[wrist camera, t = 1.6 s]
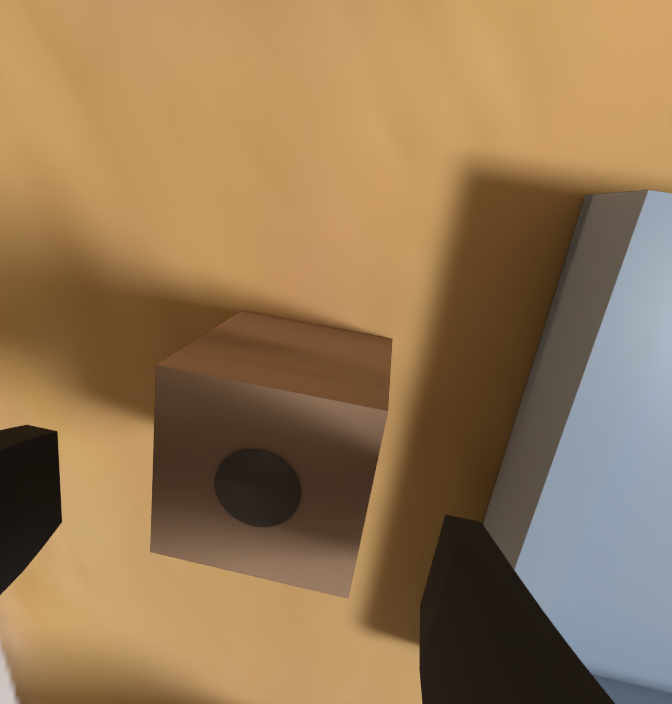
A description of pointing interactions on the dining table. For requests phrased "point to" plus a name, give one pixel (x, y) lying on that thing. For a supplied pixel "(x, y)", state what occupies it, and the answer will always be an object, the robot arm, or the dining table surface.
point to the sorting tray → (601, 451)
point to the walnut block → (269, 449)
